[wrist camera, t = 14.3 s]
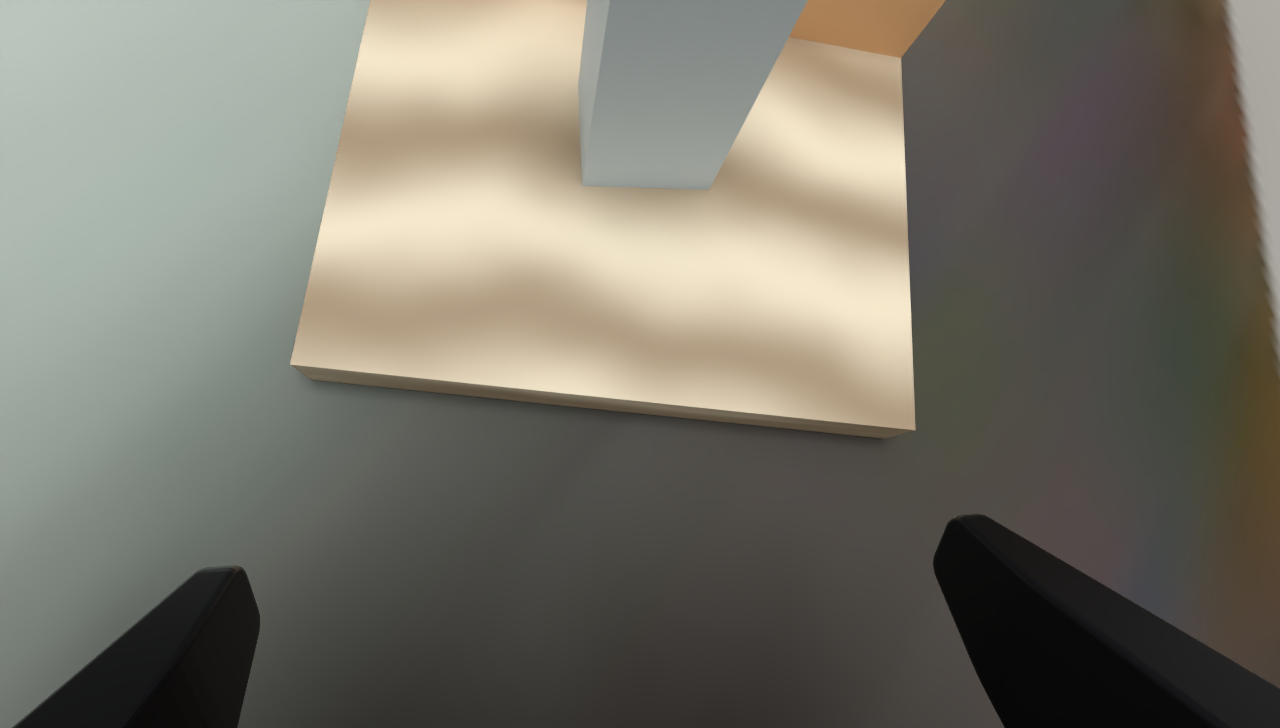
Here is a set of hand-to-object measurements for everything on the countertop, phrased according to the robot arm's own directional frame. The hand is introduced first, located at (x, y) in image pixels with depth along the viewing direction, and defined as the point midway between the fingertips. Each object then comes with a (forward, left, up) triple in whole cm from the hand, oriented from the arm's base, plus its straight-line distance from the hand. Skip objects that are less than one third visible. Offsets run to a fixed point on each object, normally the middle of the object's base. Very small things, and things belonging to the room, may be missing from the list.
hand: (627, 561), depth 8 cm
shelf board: (+13, -1, -14) cm, 19 cm away
